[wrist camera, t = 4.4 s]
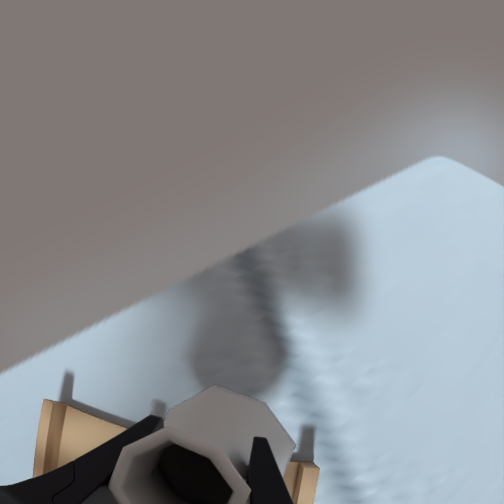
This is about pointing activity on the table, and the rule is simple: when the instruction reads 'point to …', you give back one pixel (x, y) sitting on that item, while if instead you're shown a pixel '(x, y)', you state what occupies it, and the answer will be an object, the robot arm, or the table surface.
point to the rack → (99, 431)
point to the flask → (199, 452)
